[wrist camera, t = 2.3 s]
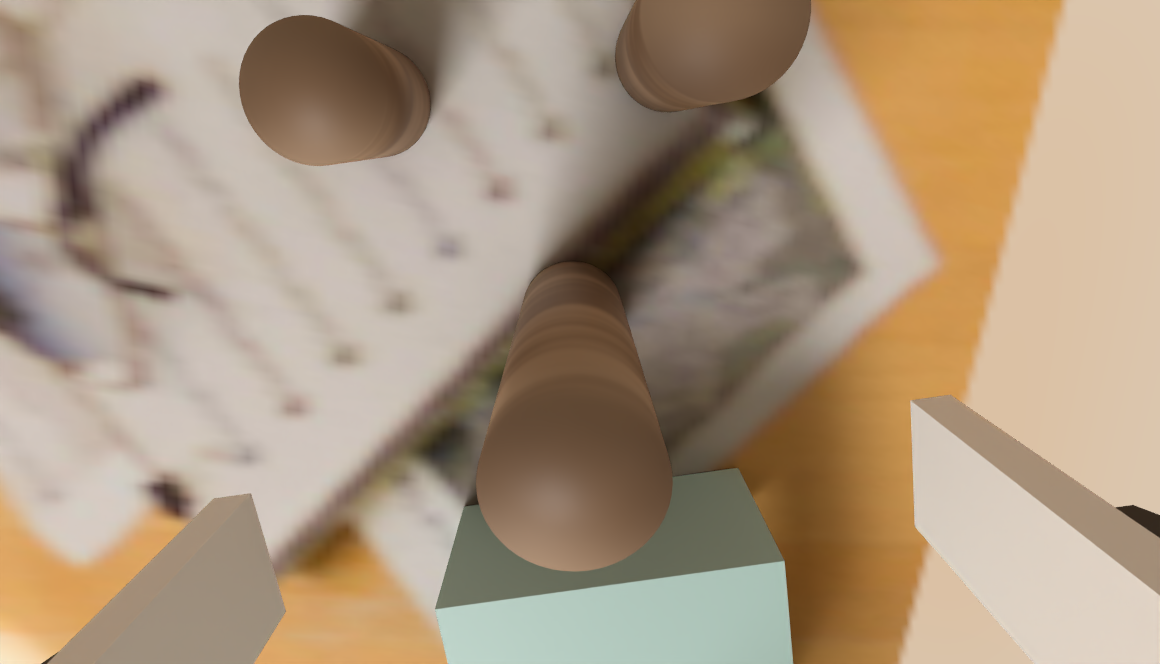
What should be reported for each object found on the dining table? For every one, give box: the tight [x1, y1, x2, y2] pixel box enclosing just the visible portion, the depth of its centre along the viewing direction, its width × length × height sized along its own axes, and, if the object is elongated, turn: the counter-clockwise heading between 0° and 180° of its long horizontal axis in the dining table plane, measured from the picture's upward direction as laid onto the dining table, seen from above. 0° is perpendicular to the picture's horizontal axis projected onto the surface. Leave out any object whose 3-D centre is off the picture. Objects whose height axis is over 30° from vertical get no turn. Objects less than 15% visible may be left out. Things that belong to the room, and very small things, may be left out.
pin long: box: [476, 261, 673, 572], centre depth 22 cm, size 4×4×15 cm
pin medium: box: [615, 0, 811, 112], centre depth 22 cm, size 4×4×10 cm
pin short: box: [239, 15, 430, 166], centre depth 24 cm, size 4×4×7 cm
